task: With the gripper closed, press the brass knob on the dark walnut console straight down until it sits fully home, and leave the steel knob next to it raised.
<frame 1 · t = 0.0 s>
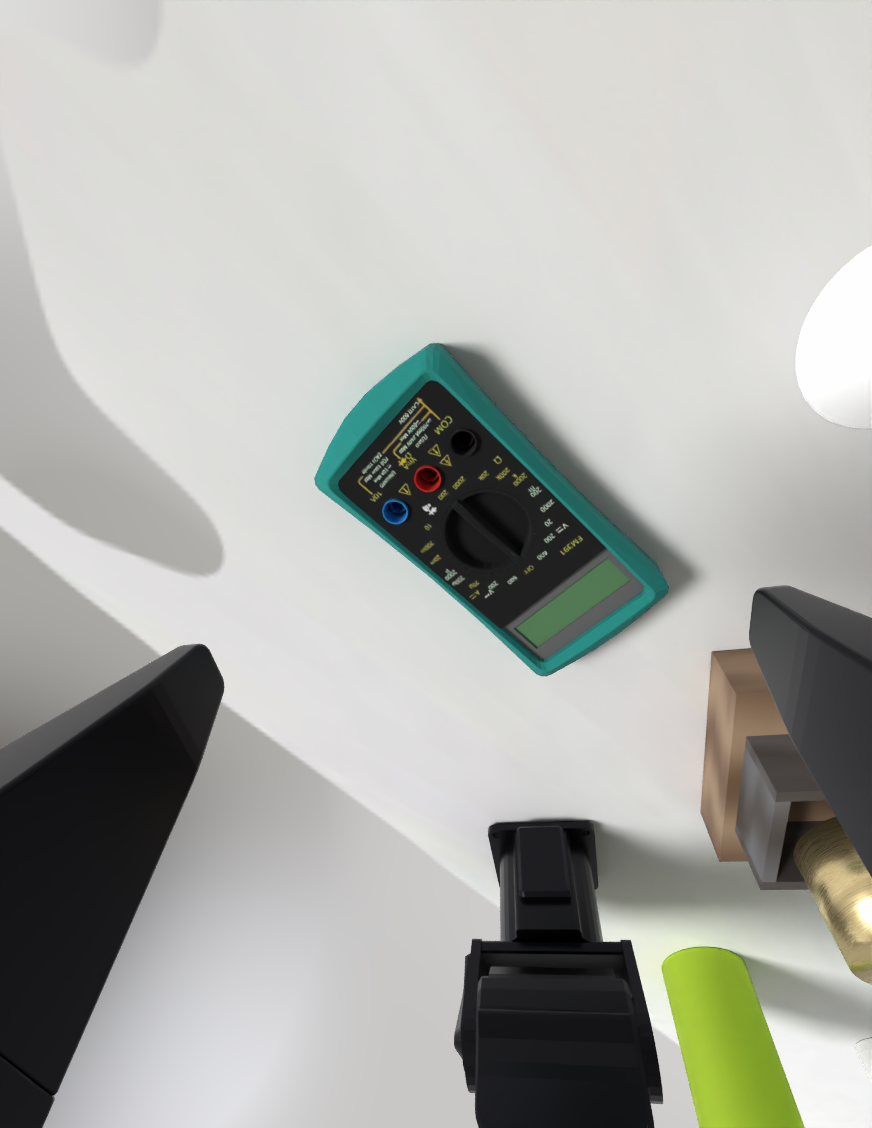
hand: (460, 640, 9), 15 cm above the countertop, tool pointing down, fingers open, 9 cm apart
digital multimeter: (494, 513, 24), on the countertop
soap dispenser: (696, 962, 39), on the countertop
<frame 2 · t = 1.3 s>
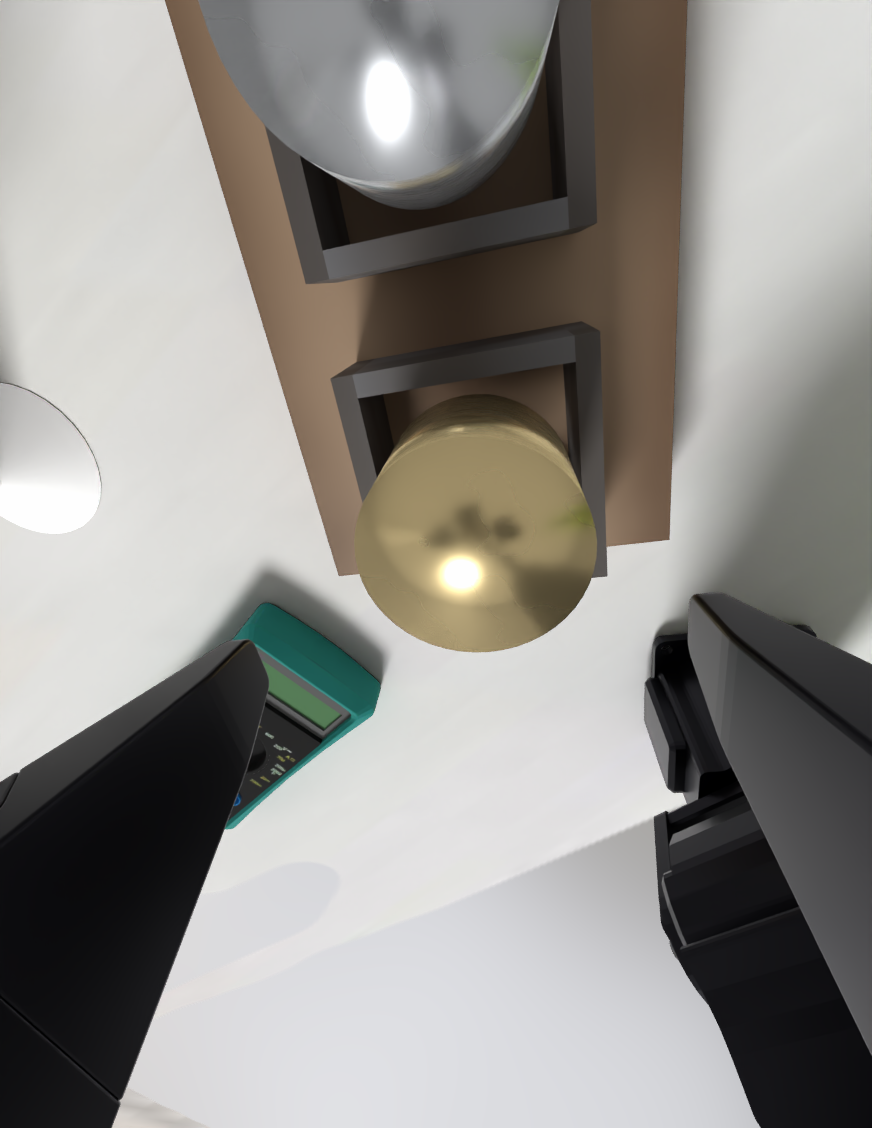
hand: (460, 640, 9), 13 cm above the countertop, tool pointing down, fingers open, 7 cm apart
digital multimeter: (257, 706, 29), on the countertop
champagne flute: (27, 461, 23), on the countertop
steel knob: (397, 11, 9), point 8 cm above the countertop, slide at 0.0 cm
knob console: (464, 297, 18), on the countertop
brass knob: (475, 517, 13), point 8 cm above the countertop, slide at 0.0 cm
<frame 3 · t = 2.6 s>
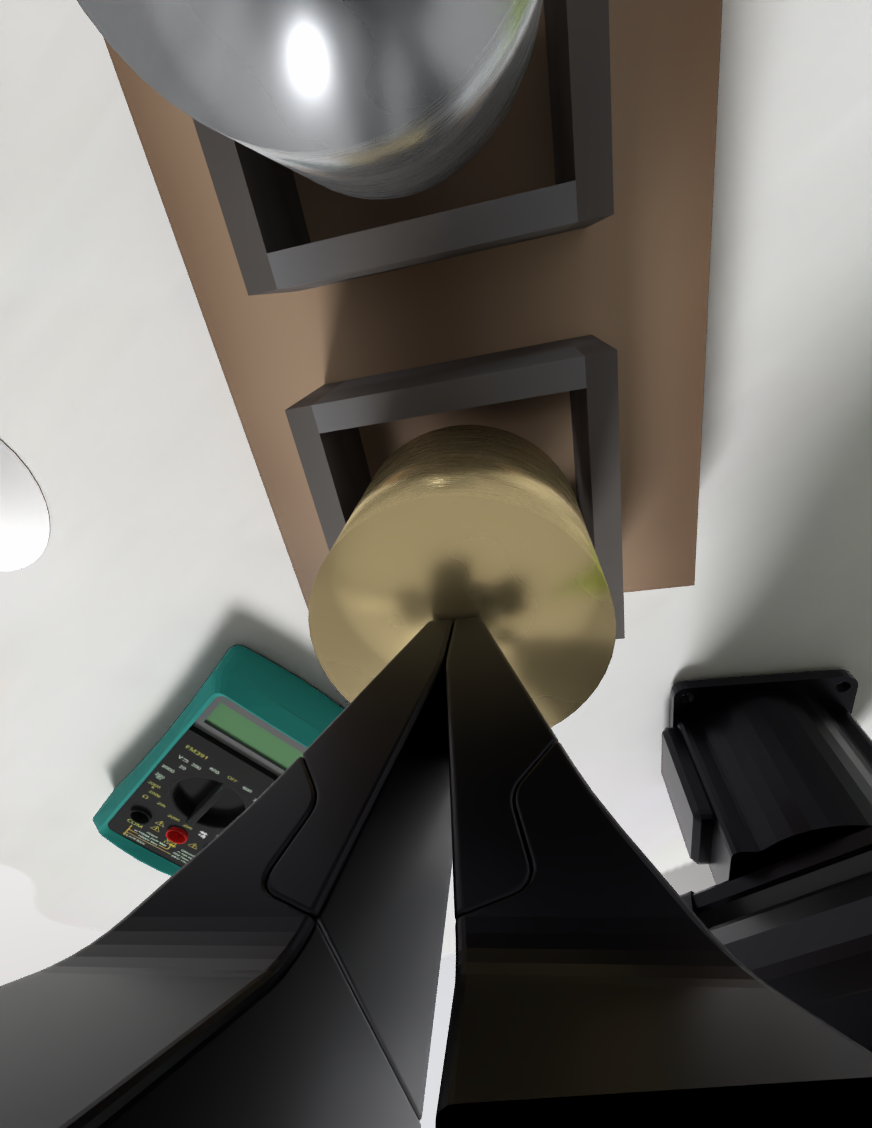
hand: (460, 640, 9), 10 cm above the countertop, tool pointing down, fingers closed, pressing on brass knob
digital multimeter: (237, 753, 27), on the countertop
knob console: (452, 306, 15), on the countertop
brass knob: (464, 577, 10), point 8 cm above the countertop, slide at 0.3 cm, touching gripper
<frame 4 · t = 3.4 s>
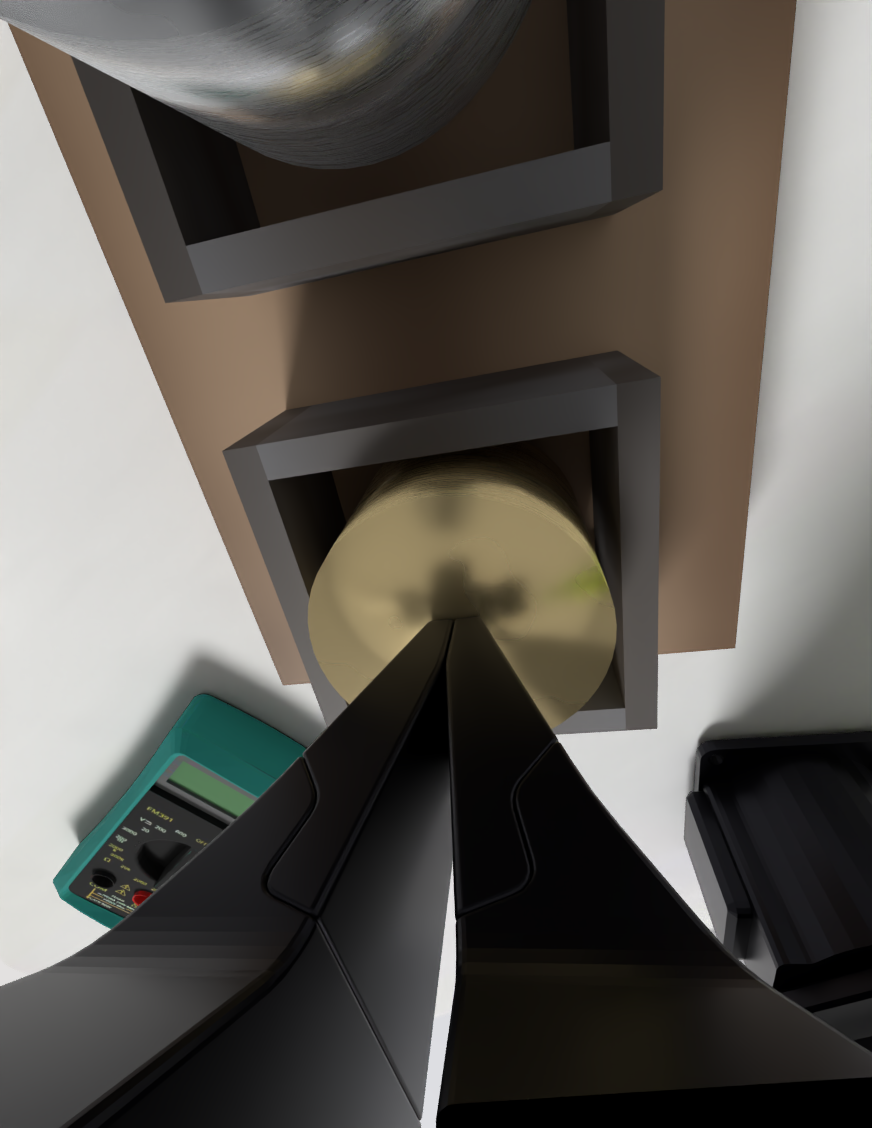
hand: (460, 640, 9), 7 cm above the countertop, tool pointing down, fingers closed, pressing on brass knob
digital multimeter: (211, 805, 24), on the countertop
knob console: (445, 313, 13), on the countertop
brass knob: (464, 578, 10), point 5 cm above the countertop, slide at 3.2 cm, touching gripper
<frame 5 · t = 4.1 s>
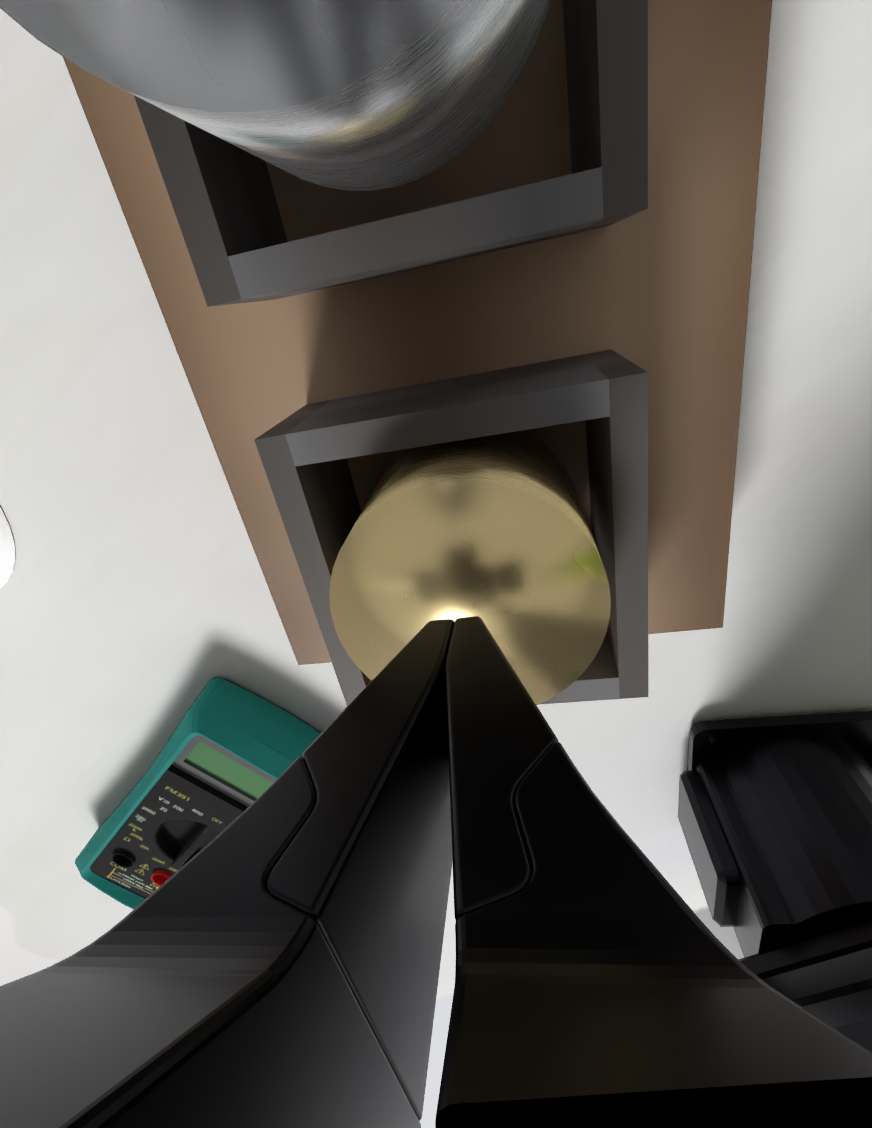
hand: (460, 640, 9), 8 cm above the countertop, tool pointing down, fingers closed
digital multimeter: (226, 788, 25), on the countertop
knob console: (452, 315, 14), on the countertop
brass knob: (470, 561, 11), point 5 cm above the countertop, slide at 3.1 cm
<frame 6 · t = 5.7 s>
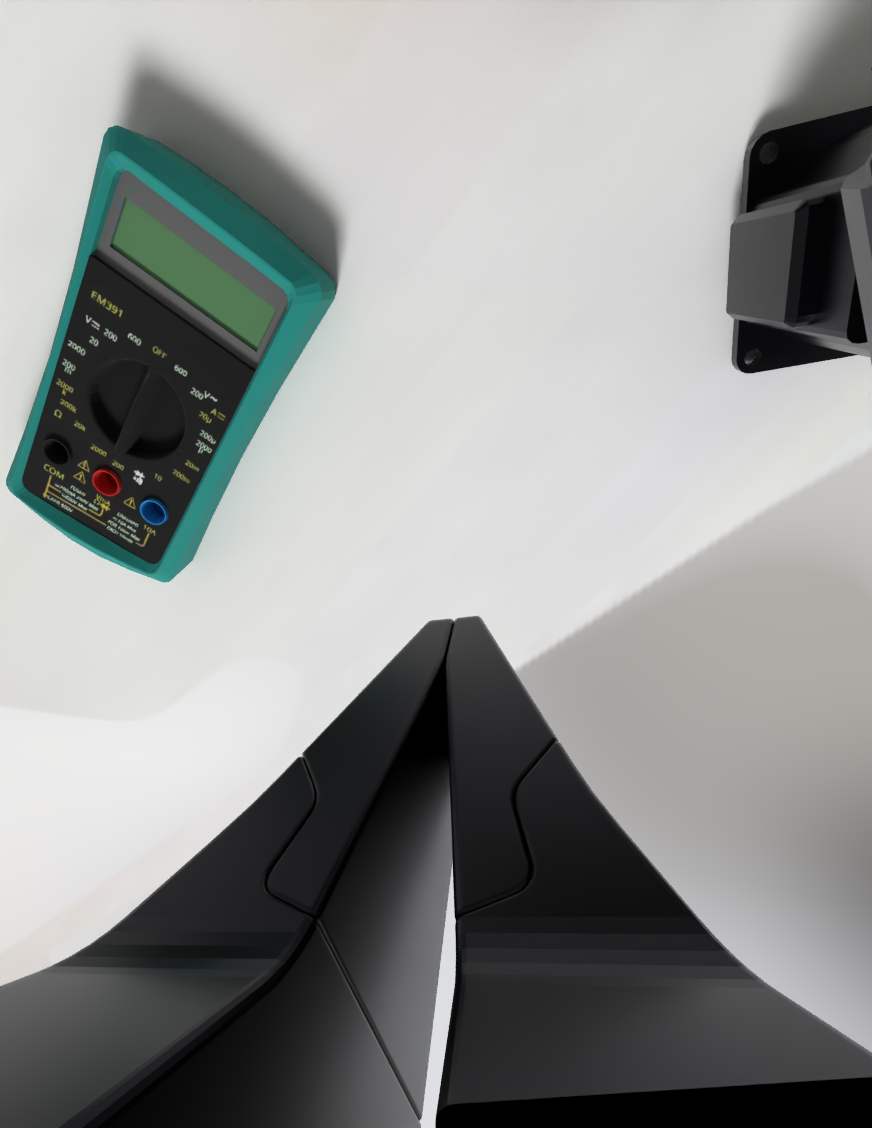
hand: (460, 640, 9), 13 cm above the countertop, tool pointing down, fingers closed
digital multimeter: (180, 387, 21), on the countertop
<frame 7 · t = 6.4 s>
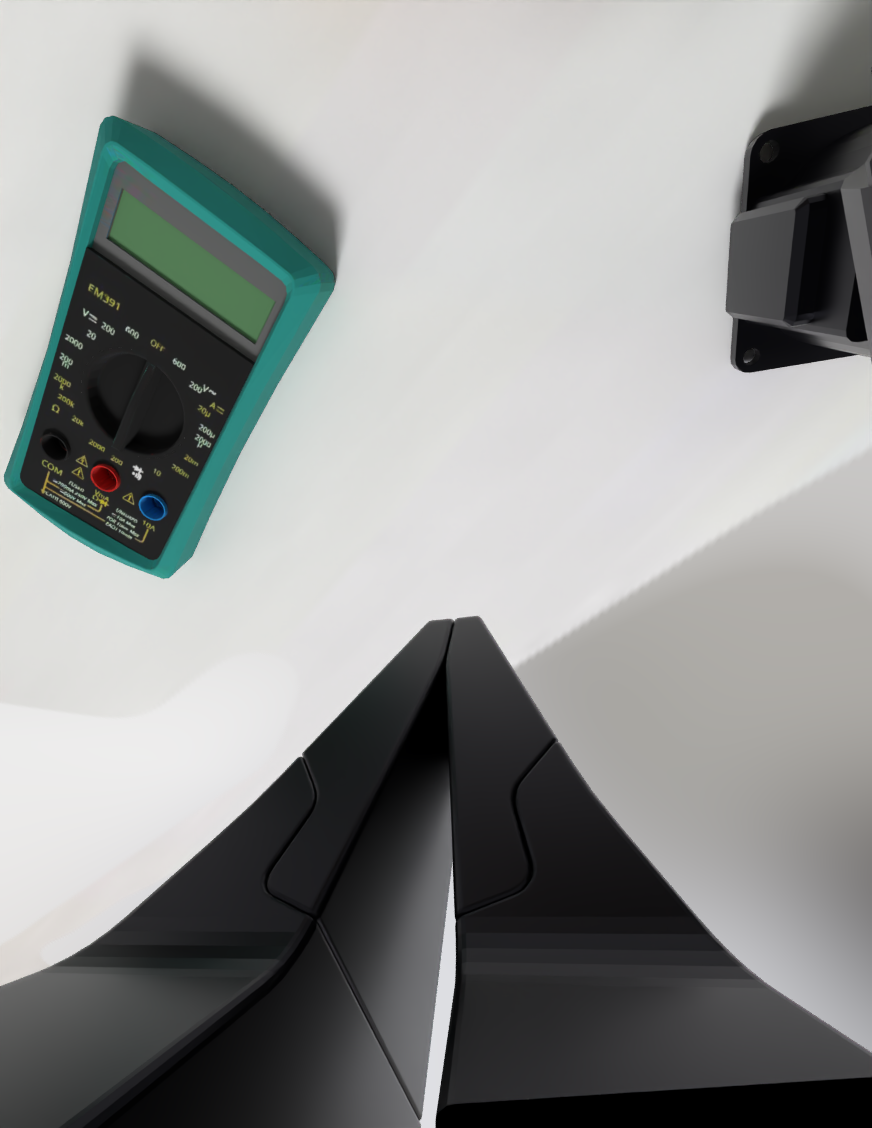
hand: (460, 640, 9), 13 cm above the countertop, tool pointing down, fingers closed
digital multimeter: (178, 382, 21), on the countertop
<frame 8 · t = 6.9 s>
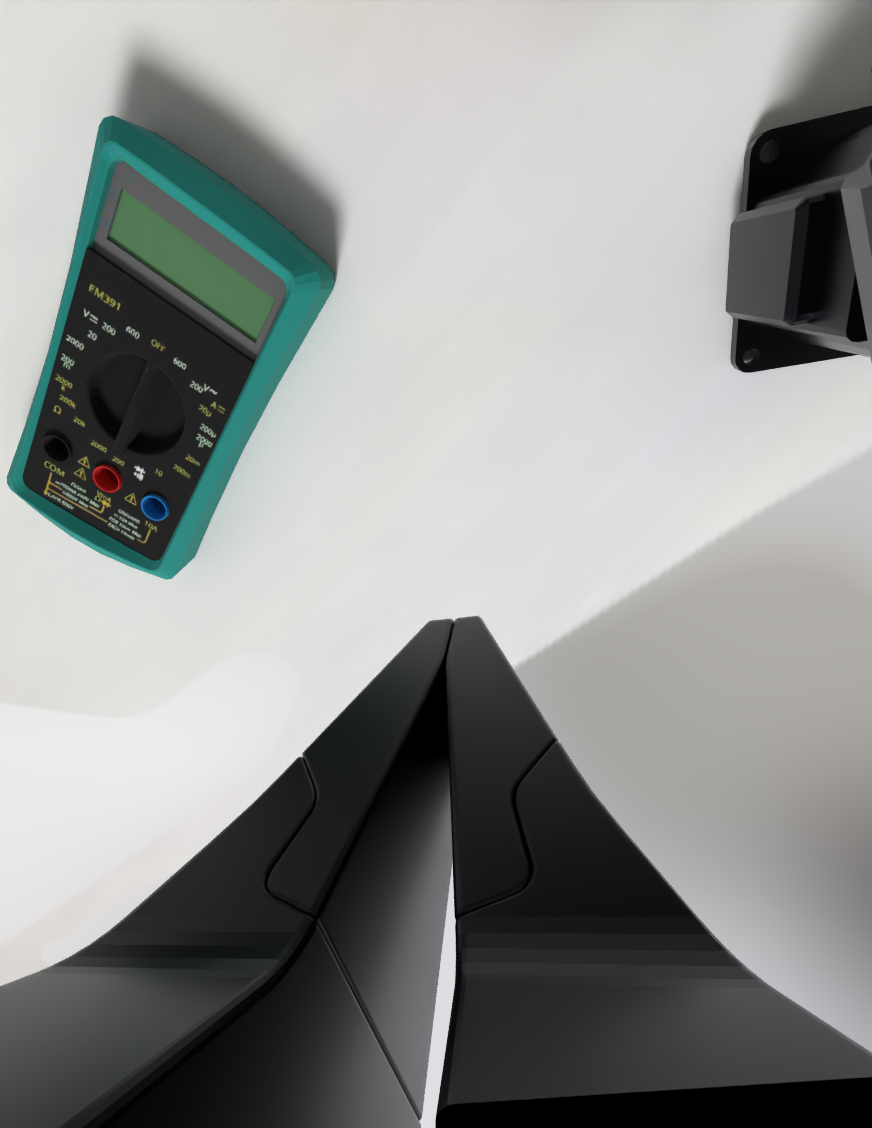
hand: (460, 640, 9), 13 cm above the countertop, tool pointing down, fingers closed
digital multimeter: (180, 382, 21), on the countertop
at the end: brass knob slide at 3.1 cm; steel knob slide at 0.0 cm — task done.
